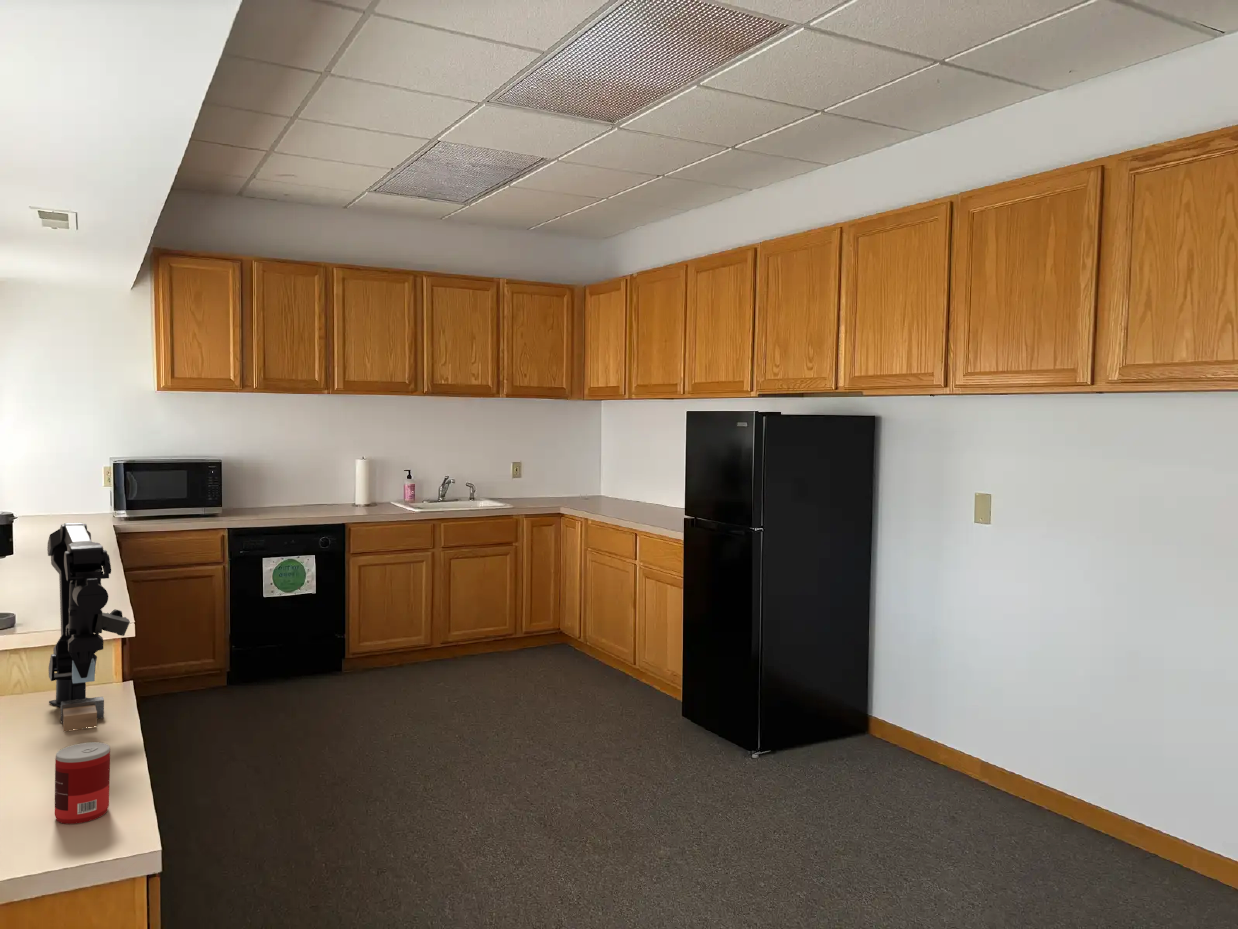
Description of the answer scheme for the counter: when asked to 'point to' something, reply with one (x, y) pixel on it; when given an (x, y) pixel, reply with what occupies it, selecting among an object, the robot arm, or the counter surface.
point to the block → (90, 676)
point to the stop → (85, 702)
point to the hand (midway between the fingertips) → (83, 675)
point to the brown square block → (79, 717)
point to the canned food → (82, 782)
